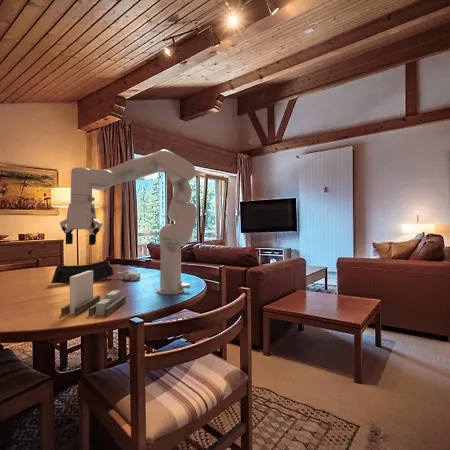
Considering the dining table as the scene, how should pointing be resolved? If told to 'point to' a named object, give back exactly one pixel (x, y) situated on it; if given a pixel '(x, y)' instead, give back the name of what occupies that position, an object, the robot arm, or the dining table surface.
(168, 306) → the dining table surface
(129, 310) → the dining table surface
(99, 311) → the small offcut
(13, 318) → the dining table surface
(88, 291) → the tall sheet
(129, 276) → the bunny figurine
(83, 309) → the rack
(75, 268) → the magazine
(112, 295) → the large offcut
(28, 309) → the dining table surface
